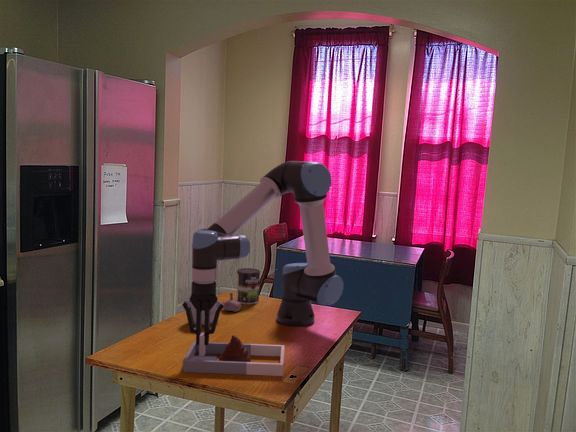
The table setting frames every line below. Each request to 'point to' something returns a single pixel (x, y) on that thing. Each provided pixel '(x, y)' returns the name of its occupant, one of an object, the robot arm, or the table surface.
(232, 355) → the poop emoji
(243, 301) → the coffee can
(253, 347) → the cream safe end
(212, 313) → the teacup
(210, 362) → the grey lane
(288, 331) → the table surface
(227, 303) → the garlic bulb
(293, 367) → the table surface
